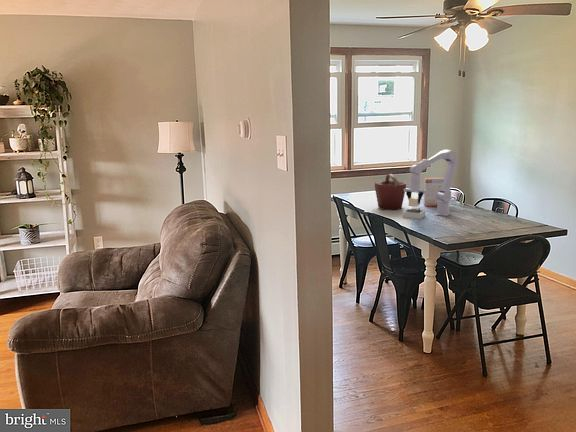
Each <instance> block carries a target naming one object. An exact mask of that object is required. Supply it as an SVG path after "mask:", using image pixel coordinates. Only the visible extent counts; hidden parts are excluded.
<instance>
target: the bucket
mask: <svg viewBox="0 0 576 432" xmlns="http://www.w3.org/2000/svg"><path fill="white" fill-rule="evenodd" d="M390 178H391V179H392V180H390ZM404 189H407V183H406V181H399V180H398V179H397V178H396V177H395V175H394V174H393V173H387V174H386V175H385V180H380V181H376V182H375V183H374V190H375V196H376V201H377V206H378V208H379V209H381V210H384V211H388V210H389V211H397V210H402V207H403V202H404V198H405V195H406V192H404Z"/></svg>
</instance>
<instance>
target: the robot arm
mask: <svg viewBox="0 0 576 432" xmlns="http://www.w3.org/2000/svg"><path fill="white" fill-rule="evenodd" d="M442 159H443V160H444V161H446V163H447V168H446V170H445V175H444V177H443V178H444V181H443V184H442V187H441V188H440V189H439V191H438V192H437V194H436V198H437V199H438V200H437V201H438V204H437V206H436V207H437V208H436V209H437V211H436V213H435V216H443V217H448V216H449V215H450V214H451V213H450V201H451V199H452V190H451V187H452V184H453V179H454V176H455V173H456V170H457V167H458V153H457V151H456V150H453V149H447V148H445V149H442V150H440V151H439V152H437V153H436V154H435V155H433V156H431V157H430V158H429V159H428V158H423V159H422V160H421V161H419V162H416V164H412V165H411V166H410V168H409V172H410V188H406V189H404V192H405V195H406V196H407V199H408V201H409V198H411V197H412V193H417V197H418V204H420V205H421V200H422V198H423V197H424V193H426V190H424V189H421V188H420V184H421V181H420V179H421V173H422V172H423V171H424V170H426V169H428V168H429V167H431V164H434V163H435V162H437V161H440V160H442Z"/></svg>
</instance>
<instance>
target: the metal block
mask: <svg viewBox="0 0 576 432" xmlns="http://www.w3.org/2000/svg"><path fill="white" fill-rule="evenodd" d="M408 209H409V211H408V212H415V213H420V210H421V207H415V206H411V207H409V208H408Z"/></svg>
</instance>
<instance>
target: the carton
mask: <svg viewBox="0 0 576 432" xmlns="http://www.w3.org/2000/svg"><path fill="white" fill-rule="evenodd" d="M420 205H421V203H420V204H418V196H411V198H409V200H408V207H415V208H418V206H420Z"/></svg>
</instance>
